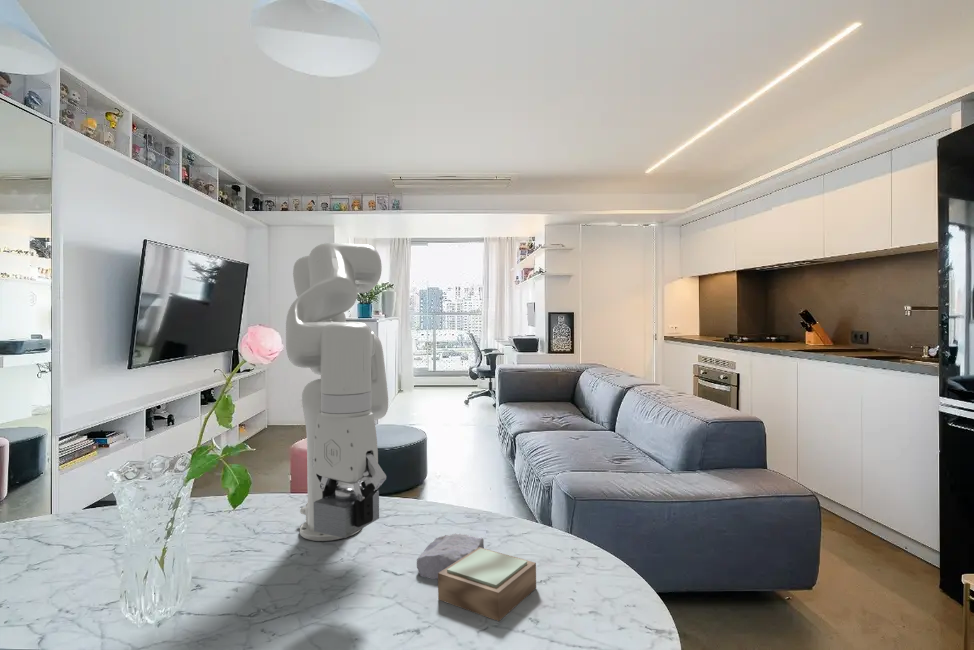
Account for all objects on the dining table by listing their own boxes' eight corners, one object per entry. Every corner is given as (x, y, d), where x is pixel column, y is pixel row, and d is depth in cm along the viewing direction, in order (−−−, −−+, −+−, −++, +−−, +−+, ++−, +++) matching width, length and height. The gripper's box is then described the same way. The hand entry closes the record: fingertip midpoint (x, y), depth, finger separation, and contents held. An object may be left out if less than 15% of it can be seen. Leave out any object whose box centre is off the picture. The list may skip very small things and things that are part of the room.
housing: (313, 531, 76) (313, 494, 76) (349, 512, 84) (349, 478, 84) (345, 538, 74) (345, 500, 74) (379, 518, 81) (378, 483, 81)
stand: (438, 599, 78) (437, 570, 78) (479, 570, 87) (479, 544, 87) (498, 621, 72) (498, 589, 72) (536, 588, 81) (535, 560, 81)
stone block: (414, 588, 85) (469, 583, 83) (408, 559, 86) (463, 552, 83) (439, 560, 97) (489, 554, 94) (434, 534, 97) (483, 528, 95)
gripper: (290, 401, 80) (292, 514, 81) (367, 413, 71) (368, 541, 71) (329, 395, 86) (330, 500, 87) (404, 405, 77) (405, 523, 77)
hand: (347, 517), depth 79 cm, fingers closed on housing, 6 cm apart
